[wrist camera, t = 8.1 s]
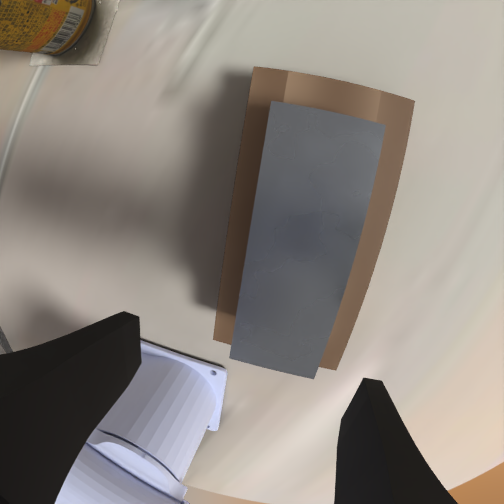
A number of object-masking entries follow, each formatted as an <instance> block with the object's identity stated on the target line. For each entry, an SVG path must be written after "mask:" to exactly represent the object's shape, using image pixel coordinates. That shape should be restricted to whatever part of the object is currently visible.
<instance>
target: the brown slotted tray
mask: <svg viewBox="0 0 504 504" xmlns="http://www.w3.org/2000/svg"><path fill="white" fill-rule="evenodd" d="M271 101H276V102H283V103H289V104H295V105H300V106H306V107H311V108H316V109H321V110H326V111H331V112H336V113H340V114H344V115H349V116H353V117H357V118H361V119H365V120H369V121H373V122H377V123H380V124H384V125H386V127H385V132H384V138H383V143H382V148H381V153H380V158H379V162H378V167H377V172H376V176H375V181H374V185H373V189H372V194H371V198H370V202H369V206H368V210H367V214H366V218H365V222H364V226H363V229H362V233H361V237H360V241H359V244H358V248H357V251H356V255H355V258H354V262H353V265H352V269H351V272H350V275H349V279H348V282H347V285H346V288H345V292H344V295H343V298H342V301H341V304H340V307H339V310H338V313H337V316H336V319H335V322H334V325H333V328H332V331H331V334H330V337H329V340H328V342H327V345H326V348H325V351H324V353H323V356H322V359H321V362H320V364H319V367H322V368H327V369H331V370H336V369H337V367H338V365H339V362H340V360H341V358H342V355H343V353H344V350H345V348H346V345H347V343H348V340H349V338H350V335H351V333H352V330H353V327H354V325H355V322H356V319H357V317H358V314H359V311H360V309H361V306H362V303H363V300H364V297H365V295H366V292H367V289H368V286H369V283H370V280H371V277H372V274H373V271H374V268H375V265H376V261H377V258H378V255H379V252H380V249H381V245H382V242H383V239H384V235H385V232H386V228H387V225H388V221H389V217H390V214H391V210H392V206H393V202H394V199H395V195H396V191H397V187H398V182H399V178H400V174H401V170H402V165H403V161H404V156H405V151H406V146H407V142H408V136H409V131H410V126H411V120H412V115H413V109H414V103H415V101H414V100H411V99H408V98H404V97H401V96H398V95H394V94H391V93H388V92H384V91H380V90H377V89H373V88H369V87H365V86H361V85H357V84H353V83H349V82H345V81H340V80H335V79H331V78H326V77H321V76H315V75H310V74H304V73H298V72H292V71H286V70H279V69H271V68H263V67H255V66H254V69H253V74H252V80H251V86H250V91H249V97H248V103H247V109H246V115H245V121H244V127H243V133H242V139H241V145H240V151H239V158H238V164H237V171H236V177H235V183H234V190H233V197H232V203H231V210H230V217H229V224H228V231H227V238H226V245H225V252H224V259H223V266H222V274H221V281H220V289H219V296H218V304H217V312H216V320H215V328H214V336H213V340H216V341H219V342H223V343H226V344H230V345H231V344H232V338H233V332H234V325H235V319H236V313H237V307H238V300H239V294H240V288H241V282H242V275H243V269H244V263H245V257H246V251H247V245H248V238H249V232H250V226H251V220H252V214H253V208H254V202H255V196H256V189H257V183H258V177H259V171H260V165H261V159H262V153H263V147H264V141H265V135H266V129H267V123H268V117H269V111H270V105H271Z"/></svg>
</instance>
